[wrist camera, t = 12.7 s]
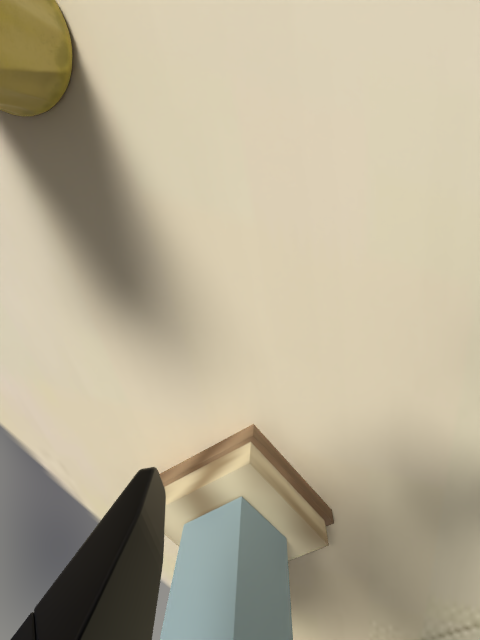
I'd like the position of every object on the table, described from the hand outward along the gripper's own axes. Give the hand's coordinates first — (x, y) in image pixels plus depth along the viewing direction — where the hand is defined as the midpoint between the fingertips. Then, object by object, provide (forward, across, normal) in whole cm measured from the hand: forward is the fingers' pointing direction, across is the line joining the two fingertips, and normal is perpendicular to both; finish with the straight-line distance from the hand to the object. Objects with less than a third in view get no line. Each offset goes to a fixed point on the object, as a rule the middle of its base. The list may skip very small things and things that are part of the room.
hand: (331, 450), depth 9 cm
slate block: (+11, +5, +18) cm, 22 cm away
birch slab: (+13, +5, +18) cm, 23 cm away
